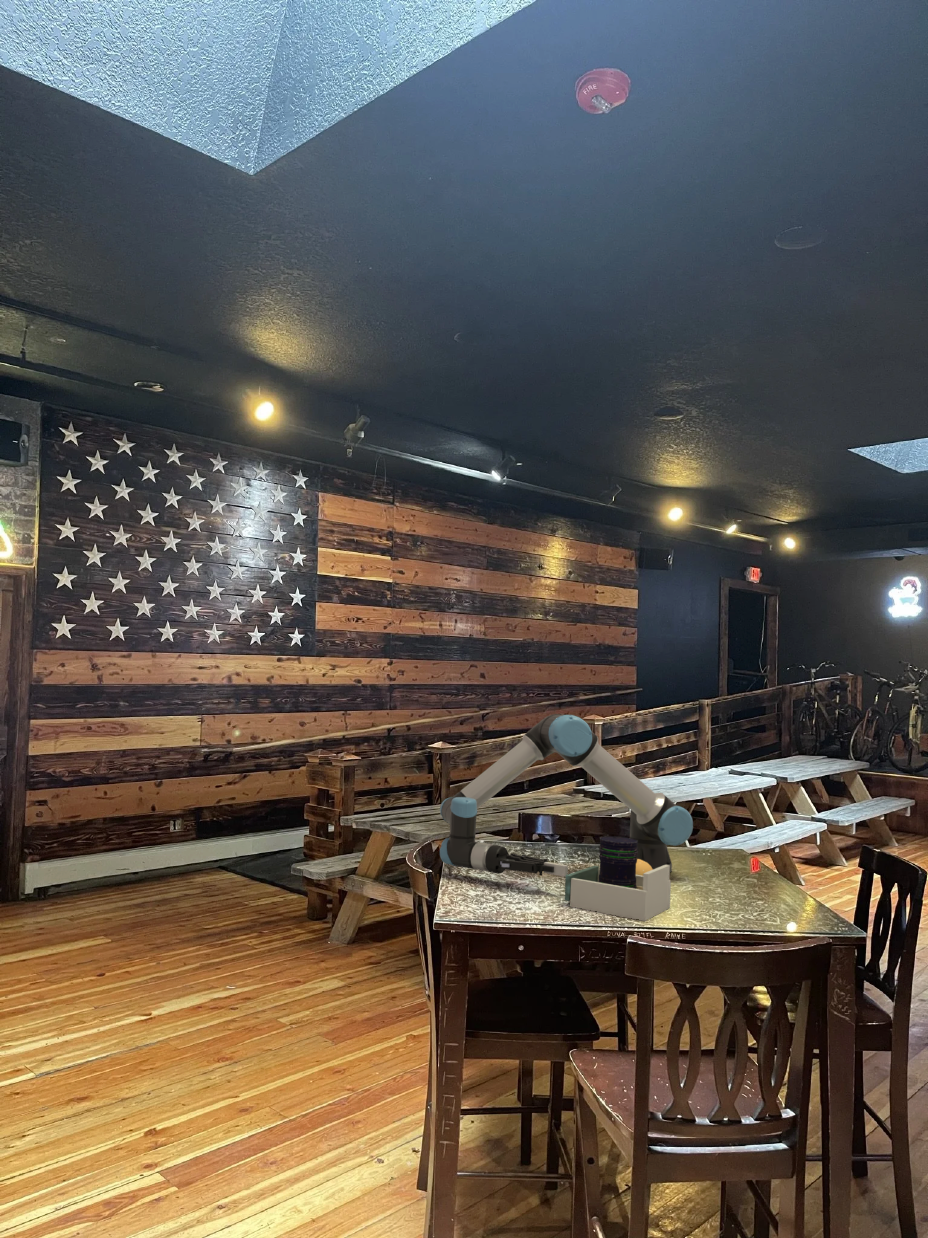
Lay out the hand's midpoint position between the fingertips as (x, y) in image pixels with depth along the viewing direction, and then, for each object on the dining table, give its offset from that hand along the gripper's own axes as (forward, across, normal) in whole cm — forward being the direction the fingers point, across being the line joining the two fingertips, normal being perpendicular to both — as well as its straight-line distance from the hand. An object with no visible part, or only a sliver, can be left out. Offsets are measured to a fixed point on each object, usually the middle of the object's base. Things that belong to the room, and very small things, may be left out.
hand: (566, 871), depth 233 cm
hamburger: (+11, -22, -7) cm, 25 cm away
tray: (+14, 0, -5) cm, 15 cm away
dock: (+16, 0, -7) cm, 17 cm away
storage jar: (+15, 0, -5) cm, 15 cm away
